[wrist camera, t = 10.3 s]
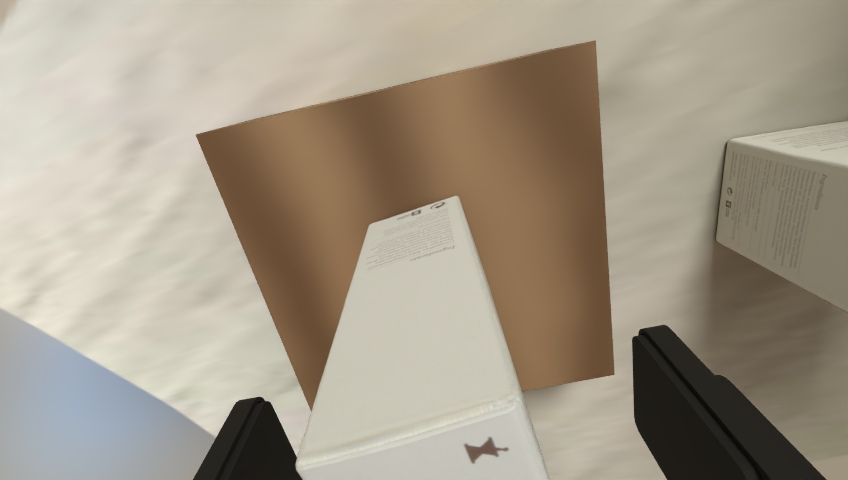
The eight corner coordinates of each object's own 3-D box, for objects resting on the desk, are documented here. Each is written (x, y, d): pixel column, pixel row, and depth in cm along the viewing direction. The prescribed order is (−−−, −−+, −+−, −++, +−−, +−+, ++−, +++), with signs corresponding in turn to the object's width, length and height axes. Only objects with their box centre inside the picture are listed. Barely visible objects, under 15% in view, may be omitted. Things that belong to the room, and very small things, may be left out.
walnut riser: (548, 49, 21) (595, 40, 15) (573, 312, 27) (614, 374, 21) (251, 119, 22) (195, 134, 16) (338, 358, 28) (318, 428, 22)
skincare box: (365, 223, 18) (281, 461, 7) (458, 192, 18) (529, 393, 6) (411, 333, 20) (405, 650, 9) (495, 308, 20) (597, 609, 9)
